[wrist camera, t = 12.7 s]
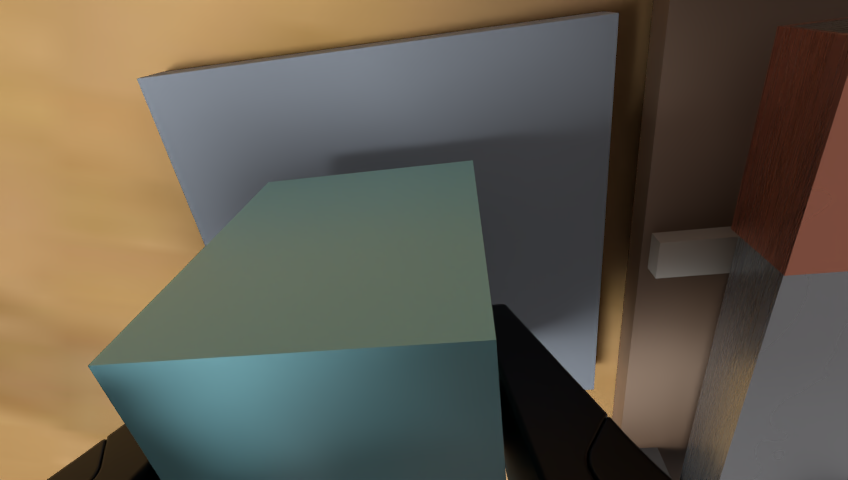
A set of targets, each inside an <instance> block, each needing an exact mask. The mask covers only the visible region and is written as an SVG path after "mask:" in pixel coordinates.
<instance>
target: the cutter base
mask: <svg viewBox="0 0 848 480" xmlns="http://www.w3.org/2000/svg"><path fill="white" fill-rule="evenodd" d="M845 17H848V0H653V10H652V20H651V30H650V41H649V51H648V61H647V71H646V81H645V91H644V102H643V112H642V122H641V132H640V142H639V153H638V163H637V173H636V183H635V193H634V203H633V214H632V224H631V234H630V244H629V254H628V264H627V275H626V285H625V295H624V305H623V315H622V325H621V336H620V346H619V356H618V366H617V376H616V386H615V397H614V407H613V417H612V420H613V421H614V422H615V423H616V424H617V425H618V426H619V427H620V428H621V430H622V431H623V432H624V433H625V434H626V435H627V436H628V437H629V438H630V439H631V440H632V441H633V442H634V443H635V444H636V445H637V446H638V447H639V448H640V449H641V450H642V451H643V452H644V453H645V454H646V455H647V456H648V457H649V458H650V459H651V460H652V461H653V462H654V463H655V464H656V465H657V466H658V467H659V468H660V469H661V470H663V471H664V472H665V473H666V474H667V475H668V476H669V477H670V478H671V479H672V480H680V475H681V471H682V467H683V463H684V459H685V455H686V451H687V447H688V443H689V438H690V434H691V430H692V426H693V422H694V418H695V414H696V410H697V405H698V401H699V397H700V393H701V389H702V385H703V381H704V377H705V373H706V368H707V364H708V360H709V356H710V352H711V348H712V344H713V340H714V335H715V331H716V327H717V323H718V319H719V315H720V311H721V307H722V302H723V298H724V294H725V290H726V286H727V282H728V278H729V274H730V270H731V265H732V261H733V257H734V253H735V249H736V245H737V241H738V237H739V236H738V235H737V234H736V233H735V232H734V231H733V230H732V229H731V226H732V222H733V217H734V213H735V209H736V205H737V200H738V196H739V192H740V187H741V183H742V179H743V174H744V170H745V166H746V161H747V157H748V153H749V148H750V144H751V140H752V135H753V131H754V127H755V122H756V118H757V114H758V109H759V105H760V101H761V96H762V92H763V88H764V83H765V79H766V75H767V70H768V66H769V62H770V57H771V53H772V49H773V44H774V40H775V36H776V31H777V27H778V26H783V25H791V24H798V23H806V22H814V21H822V20H829V19H837V18H845ZM847 480H848V479H847Z"/></svg>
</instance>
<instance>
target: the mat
mask: <svg viewBox="0 0 848 480" xmlns="http://www.w3.org/2000/svg"><path fill="white" fill-rule="evenodd" d="M618 19H619V13H615V12H605V11H602V12H595V13H587V14H580V15H573V16H566V17H558V18H551V19H544V20H537V21H529V22H522V23H515V24H507V25H500V26H493V27H486V28H478V29H471V30H464V31H456V32H449V33H442V34H435V35H427V36H420V37H413V38H406V39H398V40H391V41H384V42H376V43H369V44H362V45H355V46H347V47H340V48H333V49H325V50H318V51H311V52H304V53H296V54H289V55H282V56H275V57H267V58H260V59H253V60H245V61H238V62H231V63H224V64H216V65H209V66H202V67H194V68H187V69H180V70H173V71H165V72H161V73H157V74H153V75H149V76H145V77H142V78H138V79H137V80H138V83H139V85H140V87H141V90H142V92H143V95H144V97H145V100H146V102H147V105H148V107H149V109H150V112H151V114H152V117H153V119H154V122H155V124H156V127H157V129H158V131H159V134H160V136H161V139H162V141H163V144H164V146H165V149H166V151H167V153H168V156H169V158H170V161H171V163H172V166H173V168H174V171H175V173H176V175H177V178H178V180H179V183H180V185H181V188H182V190H183V193H184V195H185V197H186V200H187V202H188V205H189V207H190V210H191V212H192V215H193V217H194V219H195V222H196V224H197V227H198V229H199V232H200V234H201V237H202V239H203V241H204V244H205V246H206V245H207V244H208V243H209V242H210V241H211V240H212V239H213V238H214V237H215V236H216V235H217V234H218V233H219V232H220V231H221V230H222V229H223V228H224V227H225V226H226V225H227V224H228V223H229V222H230V221H231V220H232V219H233V218H234V217H235V216H236V215H237V214H238V213H239V212H240V211H241V210H242V209H243V208H244V207H245V206H246V205H247V203H248V202H249V201H250V200H251V199H252V198H253V197H254V196H255V195H256V194H257V193H258V192H259V191H260V190H261V189H262V188H263V187H264V186H265V185H266V184H267V183H268V182H274V181H283V180H293V179H302V178H311V177H321V176H330V175H340V174H349V173H358V172H368V171H377V170H386V169H396V168H405V167H414V166H424V165H433V164H442V163H452V162H461V161H471V160H473V166H474V173H475V181H476V189H477V196H478V204H479V212H480V219H481V227H482V235H483V242H484V250H485V258H486V265H487V273H488V281H489V288H490V296H491V304H492V305H493V304H505V305H507V306H508V307H509V309H510V310H511V311H512V312H513V313H514V314H515V315H516V316H517V317H518V318H519V319H520V320H521V322H522V323H523V324H524V325H525V326H526V327H527V328H528V329H529V330H530V331H531V332H532V333H533V334H534V336H535V337H536V338H537V339H538V340H539V341H540V342H541V343H542V344H543V345H544V346H545V347H546V349H547V350H548V351H549V352H550V353H551V354H552V355H553V356H554V357H555V358H556V359H557V360H558V362H559V363H560V364H561V365H562V366H563V367H564V368H565V369H566V370H567V371H568V372H569V373H570V375H571V376H572V377H573V378H574V379H575V380H576V381H577V382H578V383H579V384H580V385H581V386H582V387H583V389H584V390H589V389H594V377H595V362H596V347H597V332H598V317H599V302H600V287H601V272H602V258H603V243H604V228H605V213H606V198H607V183H608V168H609V153H610V138H611V124H612V109H613V94H614V79H615V64H616V49H617V34H618Z"/></svg>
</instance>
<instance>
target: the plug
mask: <svg viewBox="0 0 848 480" xmlns="http://www.w3.org/2000/svg"><path fill="white" fill-rule="evenodd" d="M88 367H89V368H90V370H91V371H92V373H93V375H94V376H95V378H96V379H97V381H98V382H99V384H100V386H101V387H102V389H103V390H104V392H105V393H106V395H107V396H108V398H109V400H110V401H111V403H112V404H113V406H114V407H115V409H116V411H117V412H118V414H119V415H120V417H121V418H122V420H123V421H124V423H125V425H126V426H127V428H128V429H129V431H130V432H131V434H132V436H133V437H134V439H135V440H136V442H137V443H138V445H139V446H140V448H141V450H142V451H143V453H144V454H145V456H146V457H147V459H148V461H149V462H150V464H151V465H152V467H153V468H154V470H155V471H156V473H157V475H158V476H159V478H160V479H161V480H506V473H505V459H504V444H503V430H502V416H501V401H500V387H499V373H498V358H497V344H496V334H495V327H494V319H493V311H492V304H491V296H490V288H489V281H488V273H487V265H486V258H485V250H484V242H483V235H482V227H481V219H480V212H479V204H478V196H477V189H476V181H475V173H474V166H473V160H471V161H461V162H452V163H442V164H433V165H424V166H414V167H405V168H396V169H386V170H377V171H368V172H358V173H349V174H340V175H330V176H321V177H311V178H302V179H293V180H283V181H274V182H268V183H267V184H266V185H265V186H264V187H263V188H262V189H261V190H260V191H259V192H258V193H257V194H256V195H255V196H254V197H253V198H252V199H251V200H250V201H249V202H248V203H247V205H246V206H245V207H244V208H243V209H242V210H241V211H240V212H239V213H238V214H237V215H236V216H235V217H234V218H233V219H232V220H231V221H230V222H229V223H228V224H227V225H226V226H225V227H224V228H223V229H222V230H221V231H220V232H219V233H218V234H217V235H216V236H215V237H214V238H213V239H212V240H211V241H210V242H209V243H208V244H207V245H206V246H205V247H204V248H203V249H202V250H201V251H200V252H199V253H198V254H197V255H196V256H195V257H194V258H193V259H192V260H191V261H190V262H189V263H188V264H187V266H186V267H185V268H184V269H183V270H182V271H181V272H180V273H179V274H178V275H177V276H176V277H175V278H174V279H173V280H172V281H171V282H170V283H169V284H168V285H167V286H166V287H165V288H164V289H163V290H162V291H161V292H160V293H159V294H158V295H157V296H156V297H155V298H154V299H153V300H152V301H151V302H150V303H149V304H148V305H147V306H146V307H145V308H144V309H143V310H142V311H141V312H140V313H139V314H138V315H137V316H136V317H135V318H134V319H133V320H132V321H131V322H130V323H129V324H128V325H127V327H126V328H125V329H124V330H123V331H122V332H121V333H120V334H119V335H118V336H117V337H116V338H115V339H114V340H113V341H112V342H111V343H110V344H109V345H108V346H107V347H106V348H105V349H104V350H103V351H102V352H101V353H100V354H99V355H98V356H97V357H96V358H95V359H94V360H93V361H92V362H91V363H90V364H89V365H88Z"/></svg>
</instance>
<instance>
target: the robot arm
mask: <svg viewBox="0 0 848 480" xmlns="http://www.w3.org/2000/svg"><path fill="white" fill-rule="evenodd" d="M492 311H493V319H494V327H495V334H496V344H497V358H498V373H499V387H500V401H501V416H502V430H503V444H504V459H505V468H506V473H507V477H508V480H672V479H671V478H670V477H669V476H668V475H667V474H666V473H665V472H664V471H663V470H661V469H660V468H659V467H658V466H657V465H656V464H655V463H654V462H653V461H652V460H651V459H650V458H649V457H648V456H647V455H646V454H645V453H644V452H643V451H642V450H641V449H640V448H639V447H638V446H637V445H636V444H635V443H634V442H633V441H632V440H631V439H630V438H629V437H628V436H627V435H626V434H625V433H624V432H623V431H622V430H621V428H620V427H619V426H618V425H617V424H616V423H615V422H614V421H613V420H612V419H611V418H610V417H607V413H606V412H605V411H604V410H603V409H602V408H601V407H600V406H599V405H598V404H597V403H596V402H595V400H594V399H593V398H592V397H591V396H590V395H589V394H588V393H587V392H586V391H585V390H584V389H583V387H582V386H581V385H580V384H579V383H578V382H577V381H576V380H575V379H574V378H573V377H572V376H571V375H570V373H569V372H568V371H567V370H566V369H565V368H564V367H563V366H562V365H561V364H560V363H559V362H558V360H557V359H556V358H555V357H554V356H553V355H552V354H551V353H550V352H549V351H548V350H547V349H546V347H545V346H544V345H543V344H542V343H541V342H540V341H539V340H538V339H537V338H536V337H535V336H534V334H533V333H532V332H531V331H530V330H529V329H528V328H527V327H526V326H525V325H524V324H523V323H522V322H521V320H520V319H519V318H518V317H517V316H516V315H515V314H514V313H513V312H512V311H511V310H510V309H509V307H508V306H507V305H505V304H493V305H492ZM47 480H161V479H160V478H159V476H158V475H157V473H156V471H155V470H154V468H153V467H152V465H151V464H150V462H149V461H148V459H147V457H146V456H145V454H144V453H143V451H142V450H141V448H140V446H139V445H138V443H137V442H136V440H135V439H134V437H133V436H132V434H131V432H130V431H129V429H128V428H127V426H126V425H125V424H124V425H122V426H121V427H120V428H118V429H117V430H116V431H114V432H113V433H111V434H110V435H109V436H108V437H107V440H106V439H104V440H102V441H100V442H99V443H98V444H96V445H95V446H93V447H92V448H91V449H89V450H88V451H87V452H85V453H84V454H83V455H81V456H80V457H78V458H77V459H76V460H74V461H73V462H71V463H70V464H68V465H67V466H66V467H64V468H63V469H61V470H60V471H59V472H57V473H56V474H54V475H53V476H51V477H50V478H49V479H47Z"/></svg>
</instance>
